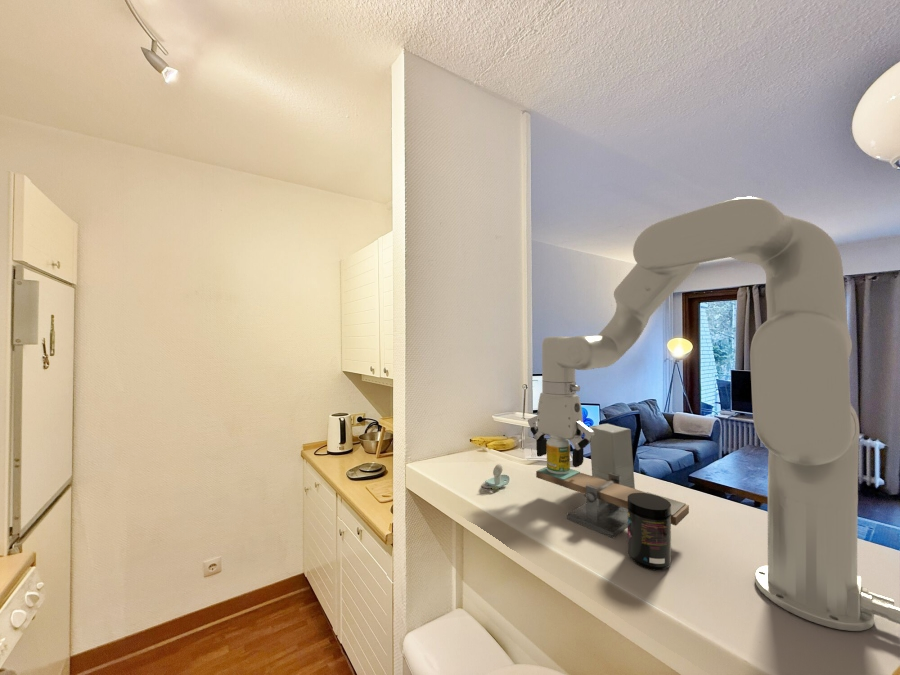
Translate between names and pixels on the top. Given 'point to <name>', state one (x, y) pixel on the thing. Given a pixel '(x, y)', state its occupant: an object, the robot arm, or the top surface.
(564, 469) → the supplement bottle
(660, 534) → the supplement container
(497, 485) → the pacifier
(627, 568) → the top surface
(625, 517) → the beam stand
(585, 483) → the beam
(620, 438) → the skincare box
